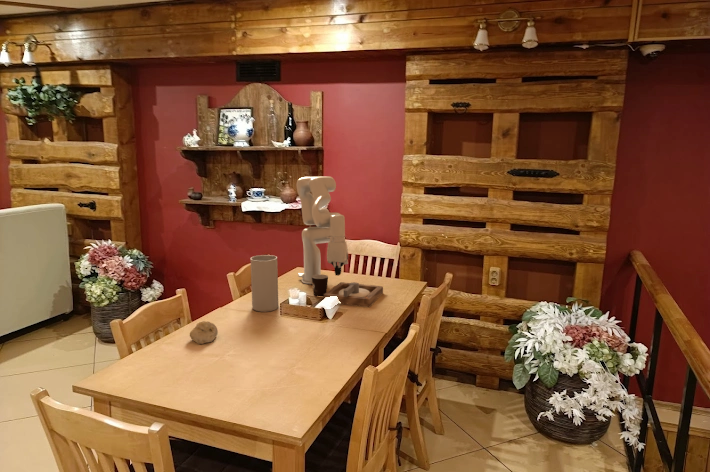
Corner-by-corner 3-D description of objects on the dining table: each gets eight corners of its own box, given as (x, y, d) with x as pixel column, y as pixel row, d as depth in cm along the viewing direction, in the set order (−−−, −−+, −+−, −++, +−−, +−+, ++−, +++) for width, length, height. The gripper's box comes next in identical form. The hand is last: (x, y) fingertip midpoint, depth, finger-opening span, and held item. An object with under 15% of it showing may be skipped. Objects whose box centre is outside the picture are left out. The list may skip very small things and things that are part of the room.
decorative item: (193, 324, 211) (214, 315, 210) (202, 343, 211) (223, 334, 211) (181, 331, 199) (203, 321, 198) (190, 351, 199) (213, 341, 199)
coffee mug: (327, 297, 261) (327, 278, 259) (311, 297, 261) (310, 278, 259) (329, 290, 272) (329, 273, 271) (313, 290, 273) (313, 272, 271)
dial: (345, 288, 270) (345, 278, 269) (373, 291, 265) (373, 281, 264) (330, 300, 251) (330, 289, 250) (360, 303, 246) (360, 292, 244)
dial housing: (323, 302, 253) (323, 294, 253) (340, 289, 276) (340, 281, 275) (369, 307, 245) (369, 299, 245) (382, 293, 268) (383, 285, 267)
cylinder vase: (246, 309, 242) (244, 259, 237) (263, 302, 252) (261, 254, 248) (267, 313, 236) (266, 262, 231) (283, 306, 247) (282, 256, 242)
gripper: (320, 239, 251) (321, 275, 254) (348, 241, 246) (349, 277, 249) (326, 237, 258) (327, 272, 261) (354, 238, 253) (354, 274, 256)
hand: (338, 274), depth 255 cm, fingers closed
